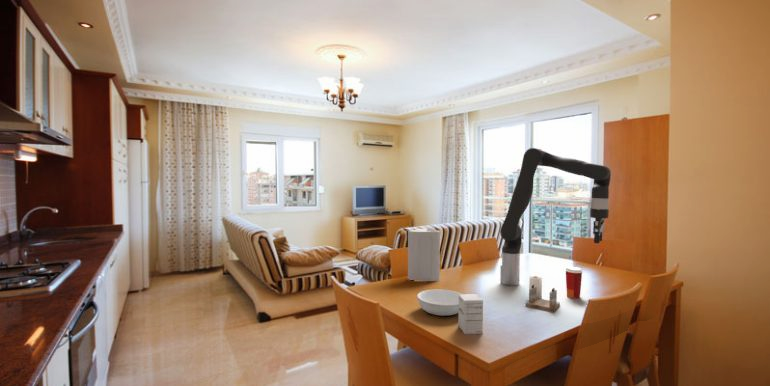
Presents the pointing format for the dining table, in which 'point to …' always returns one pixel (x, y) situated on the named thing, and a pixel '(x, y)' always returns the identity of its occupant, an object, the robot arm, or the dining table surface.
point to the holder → (542, 303)
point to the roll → (538, 283)
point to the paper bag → (424, 254)
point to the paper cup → (573, 282)
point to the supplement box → (470, 314)
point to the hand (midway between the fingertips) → (598, 241)
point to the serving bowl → (439, 301)
